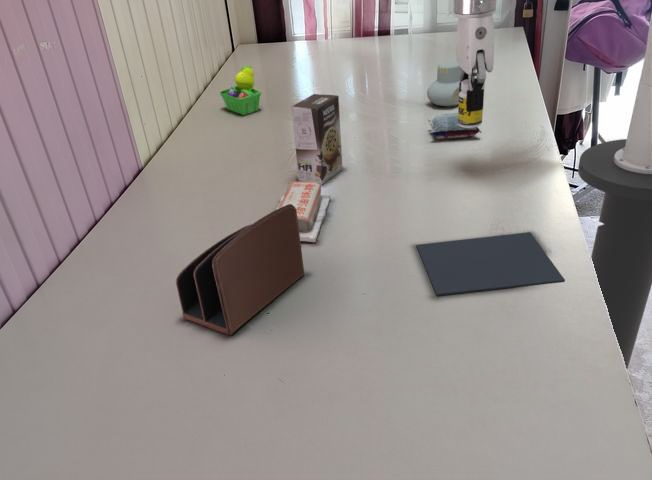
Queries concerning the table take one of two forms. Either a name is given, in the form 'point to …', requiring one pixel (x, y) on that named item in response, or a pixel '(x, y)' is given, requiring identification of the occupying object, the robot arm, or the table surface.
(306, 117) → the coffee box
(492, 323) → the table surface
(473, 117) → the supplement bottle
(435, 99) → the air freshener
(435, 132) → the packaged food
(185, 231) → the table surface
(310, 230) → the packaged product
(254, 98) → the fruit basket
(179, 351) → the table surface
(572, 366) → the table surface
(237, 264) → the letter holder
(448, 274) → the mat
